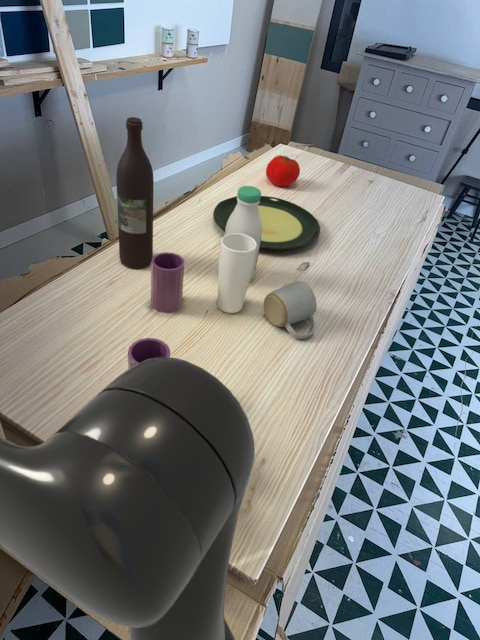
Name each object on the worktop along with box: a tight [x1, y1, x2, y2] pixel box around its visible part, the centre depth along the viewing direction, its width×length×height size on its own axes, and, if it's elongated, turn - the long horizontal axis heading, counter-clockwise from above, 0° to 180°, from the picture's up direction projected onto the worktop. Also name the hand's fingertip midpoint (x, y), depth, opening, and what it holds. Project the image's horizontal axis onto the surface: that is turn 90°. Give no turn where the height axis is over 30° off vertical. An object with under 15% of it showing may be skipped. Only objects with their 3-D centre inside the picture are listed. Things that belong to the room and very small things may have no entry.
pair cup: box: [127, 337, 171, 370], centre depth 71 cm, size 6×6×10 cm
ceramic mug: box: [263, 280, 317, 340], centre depth 90 cm, size 11×8×8 cm
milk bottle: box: [223, 185, 262, 282], centre depth 97 cm, size 8×8×20 cm
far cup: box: [150, 251, 186, 314], centre depth 89 cm, size 6×6×10 cm
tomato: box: [265, 154, 301, 187], centre depth 141 cm, size 9×10×8 cm
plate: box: [212, 195, 321, 251], centre depth 121 cm, size 28×28×2 cm
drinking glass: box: [216, 233, 257, 314], centre depth 90 cm, size 7×7×15 cm
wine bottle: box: [115, 116, 155, 270], centre depth 93 cm, size 7×7×30 cm
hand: (152, 399), depth 66 cm, fingers closed on front cup, 6 cm apart
